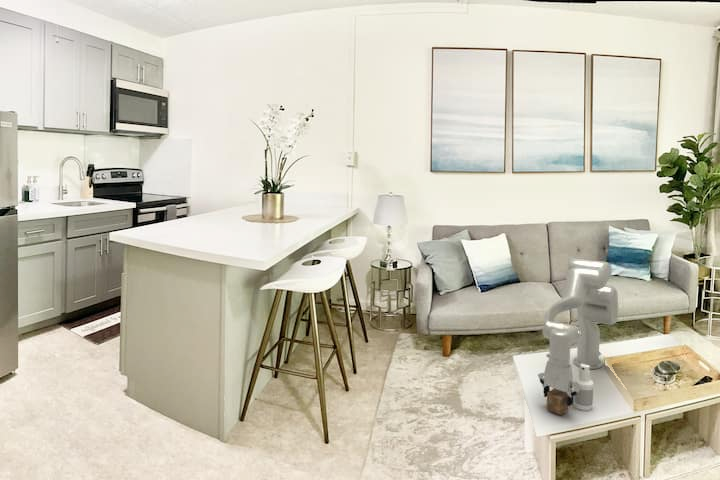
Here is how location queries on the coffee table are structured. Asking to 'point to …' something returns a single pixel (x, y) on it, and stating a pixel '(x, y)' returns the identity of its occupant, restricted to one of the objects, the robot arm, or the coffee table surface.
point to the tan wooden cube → (557, 401)
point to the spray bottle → (584, 389)
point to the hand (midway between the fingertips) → (558, 400)
